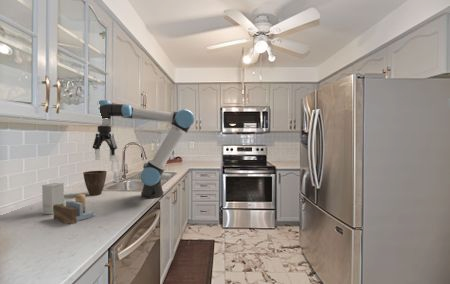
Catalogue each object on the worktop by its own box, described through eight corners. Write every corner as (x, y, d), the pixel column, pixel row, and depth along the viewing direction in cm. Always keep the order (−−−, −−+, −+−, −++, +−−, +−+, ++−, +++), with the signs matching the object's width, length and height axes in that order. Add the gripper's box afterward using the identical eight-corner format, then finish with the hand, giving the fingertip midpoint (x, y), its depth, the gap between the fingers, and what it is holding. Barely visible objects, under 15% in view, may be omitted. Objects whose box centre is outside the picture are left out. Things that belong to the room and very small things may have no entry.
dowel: (82, 214, 136) (81, 194, 136) (87, 215, 134) (86, 195, 134) (73, 216, 133) (73, 195, 132) (79, 218, 130) (78, 196, 130)
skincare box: (51, 214, 136) (51, 185, 135) (41, 214, 137) (41, 185, 137) (64, 210, 144) (64, 182, 143) (54, 209, 145) (54, 182, 145)
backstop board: (57, 217, 131) (57, 204, 131) (76, 223, 123) (76, 208, 123) (53, 218, 129) (53, 205, 129) (72, 224, 122) (72, 209, 121)
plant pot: (90, 191, 190) (90, 170, 189) (110, 192, 190) (110, 170, 189) (78, 196, 175) (78, 173, 174) (100, 196, 175) (100, 173, 174)
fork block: (80, 212, 139) (80, 197, 139) (94, 215, 134) (94, 200, 133) (60, 217, 130) (59, 202, 130) (74, 221, 124) (73, 205, 124)
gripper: (86, 125, 161) (86, 159, 161) (112, 125, 149) (112, 161, 149) (97, 126, 167) (97, 158, 168) (123, 125, 155) (123, 160, 156)
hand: (104, 160), depth 159 cm, fingers open, 13 cm apart
